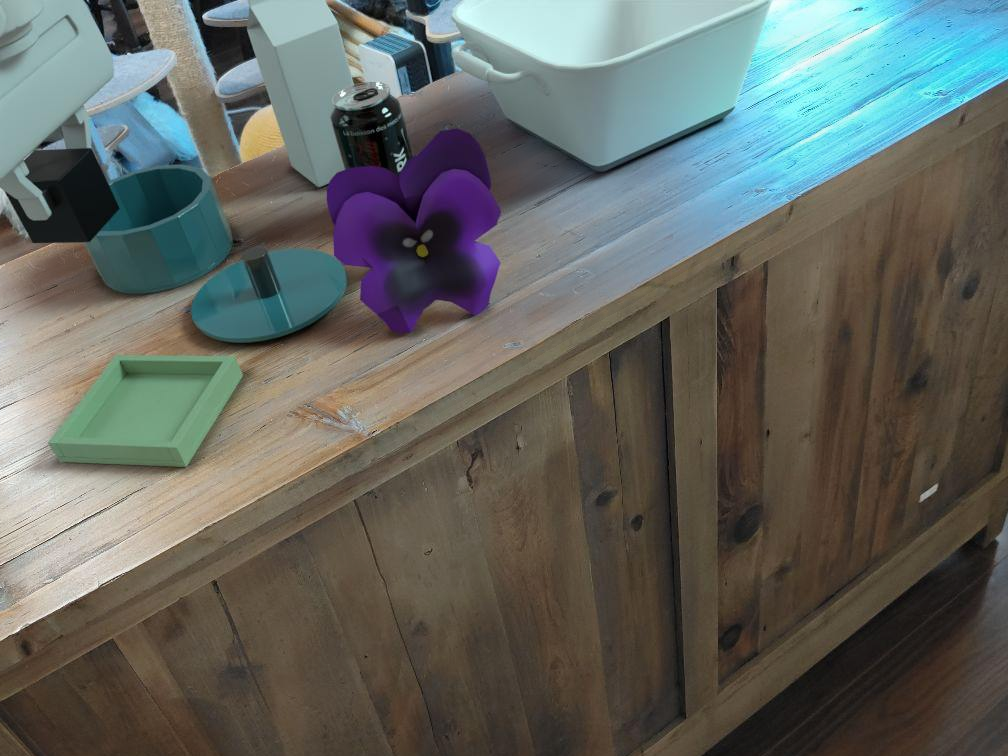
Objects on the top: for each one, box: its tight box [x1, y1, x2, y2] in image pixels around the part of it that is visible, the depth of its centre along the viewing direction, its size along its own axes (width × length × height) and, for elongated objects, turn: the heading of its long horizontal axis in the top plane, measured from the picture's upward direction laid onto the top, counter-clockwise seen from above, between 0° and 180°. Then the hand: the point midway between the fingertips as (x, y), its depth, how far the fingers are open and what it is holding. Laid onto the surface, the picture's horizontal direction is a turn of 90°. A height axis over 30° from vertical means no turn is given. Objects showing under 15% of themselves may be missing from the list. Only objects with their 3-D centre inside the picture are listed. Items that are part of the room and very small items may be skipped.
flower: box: [326, 127, 502, 335], centre depth 90 cm, size 15×15×14 cm
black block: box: [3, 147, 120, 244], centre depth 76 cm, size 5×5×5 cm
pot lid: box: [190, 245, 348, 344], centre depth 93 cm, size 15×15×5 cm
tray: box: [47, 354, 244, 468], centre depth 84 cm, size 12×12×2 cm
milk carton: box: [246, 0, 355, 188], centre depth 106 cm, size 7×7×19 cm
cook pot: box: [82, 164, 234, 295], centre depth 101 cm, size 14×14×6 cm
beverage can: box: [331, 81, 414, 176], centre depth 99 cm, size 7×7×12 cm
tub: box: [450, 0, 773, 173], centre depth 106 cm, size 34×27×13 cm
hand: (66, 193), depth 76 cm, fingers closed on black block, 5 cm apart
